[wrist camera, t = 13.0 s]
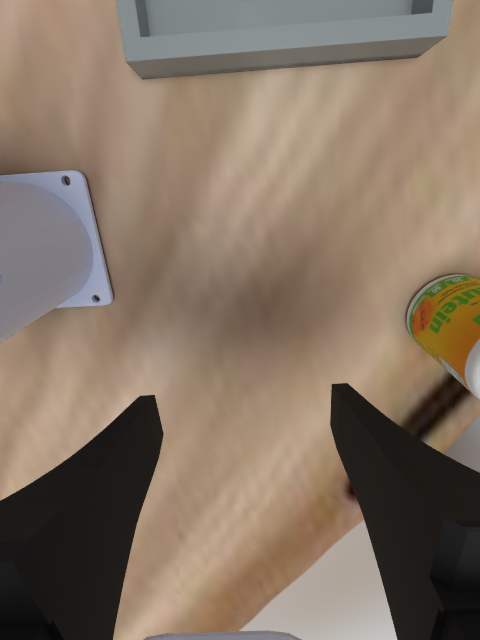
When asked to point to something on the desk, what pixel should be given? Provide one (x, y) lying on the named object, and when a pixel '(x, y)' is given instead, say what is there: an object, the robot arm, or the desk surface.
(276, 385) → the desk surface
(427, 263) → the desk surface
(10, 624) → the robot arm
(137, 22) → the tray
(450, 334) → the supplement bottle
